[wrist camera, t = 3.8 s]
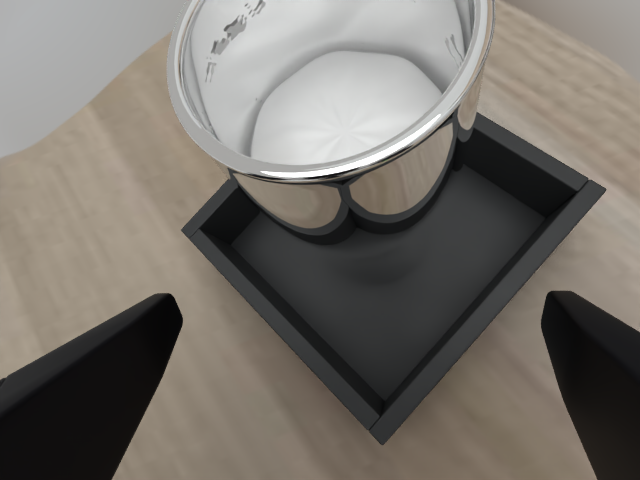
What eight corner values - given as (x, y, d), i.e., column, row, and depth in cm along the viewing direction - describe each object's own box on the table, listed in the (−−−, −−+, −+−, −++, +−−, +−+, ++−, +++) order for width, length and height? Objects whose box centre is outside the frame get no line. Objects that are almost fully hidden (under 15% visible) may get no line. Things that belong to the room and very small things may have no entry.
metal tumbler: (399, 158, 22) (391, -163, 8) (459, 257, 20) (603, 58, 6) (299, 211, 22) (123, 2, 8) (346, 312, 20) (215, 261, 6)
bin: (566, 218, 19) (608, 188, 15) (387, 423, 19) (382, 446, 15) (364, 88, 24) (357, 40, 20) (217, 247, 24) (180, 230, 20)
